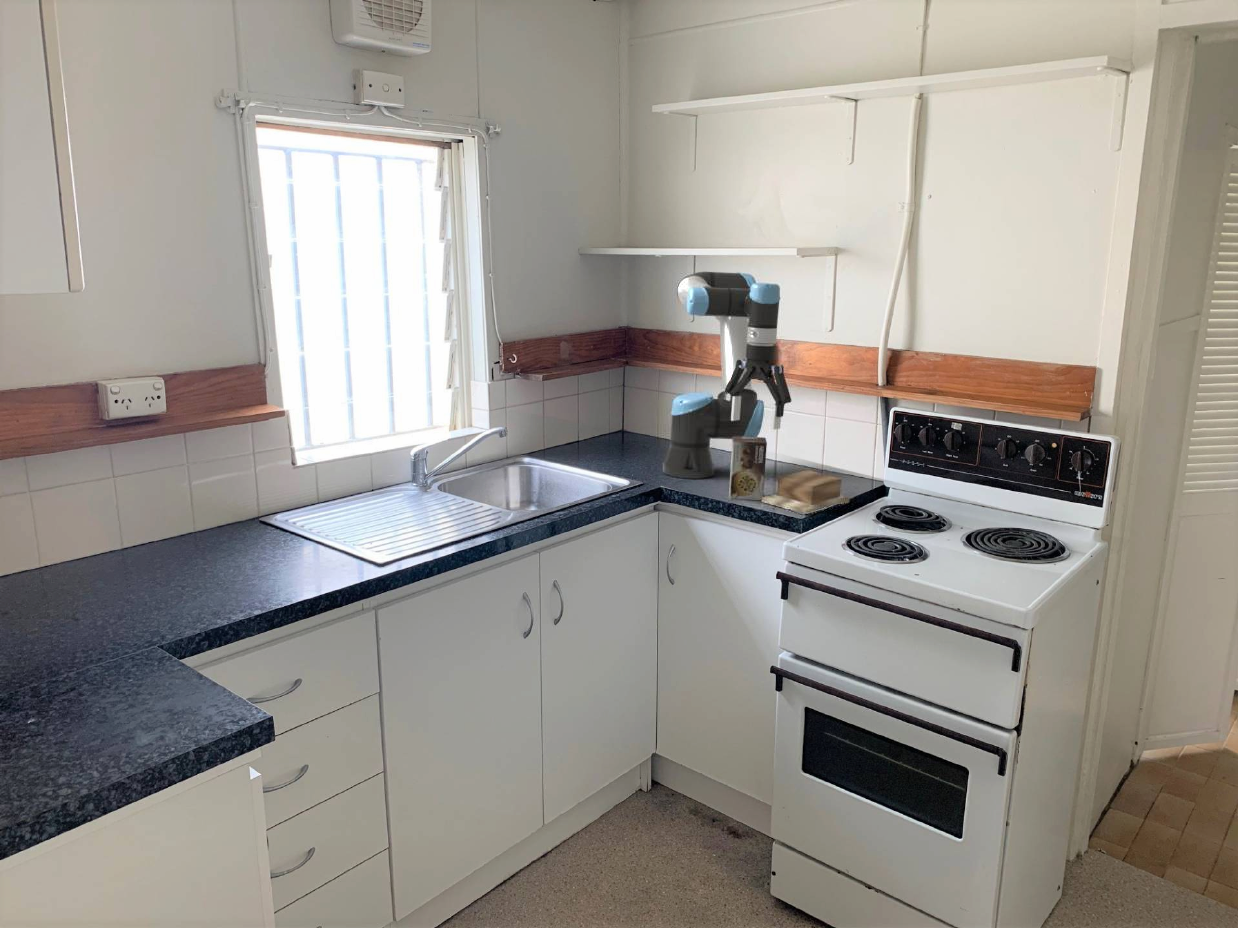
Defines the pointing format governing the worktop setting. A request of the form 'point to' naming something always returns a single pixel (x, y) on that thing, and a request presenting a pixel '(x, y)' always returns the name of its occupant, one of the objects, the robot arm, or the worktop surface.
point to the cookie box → (747, 468)
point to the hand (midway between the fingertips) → (755, 424)
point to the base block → (809, 487)
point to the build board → (802, 506)
